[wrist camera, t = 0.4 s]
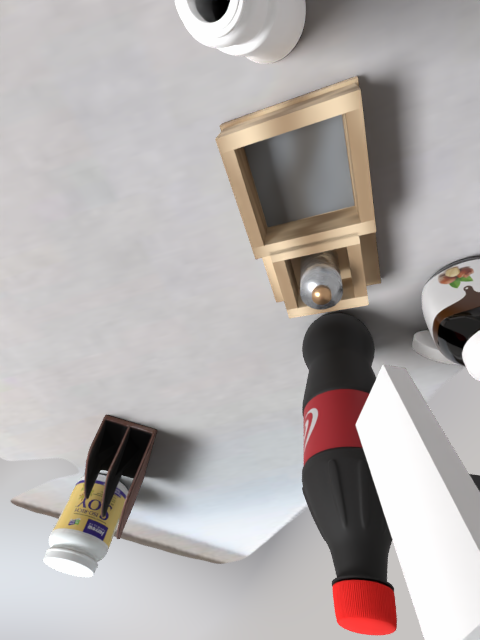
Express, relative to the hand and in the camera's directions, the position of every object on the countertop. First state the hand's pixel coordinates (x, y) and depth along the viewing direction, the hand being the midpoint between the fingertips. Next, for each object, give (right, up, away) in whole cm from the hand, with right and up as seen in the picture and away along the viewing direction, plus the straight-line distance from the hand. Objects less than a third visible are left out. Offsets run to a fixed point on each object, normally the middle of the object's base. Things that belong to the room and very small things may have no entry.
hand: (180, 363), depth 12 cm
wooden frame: (+9, +13, +25) cm, 30 cm away
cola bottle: (+14, 0, +35) cm, 38 cm away
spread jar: (+27, +4, +29) cm, 40 cm away
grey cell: (+11, +8, +27) cm, 30 cm away
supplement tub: (-30, -37, +73) cm, 87 cm away
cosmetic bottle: (+4, +25, +16) cm, 30 cm away
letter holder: (-21, -24, +61) cm, 69 cm away
